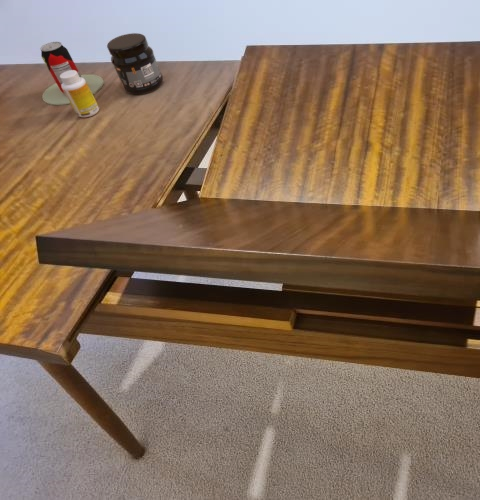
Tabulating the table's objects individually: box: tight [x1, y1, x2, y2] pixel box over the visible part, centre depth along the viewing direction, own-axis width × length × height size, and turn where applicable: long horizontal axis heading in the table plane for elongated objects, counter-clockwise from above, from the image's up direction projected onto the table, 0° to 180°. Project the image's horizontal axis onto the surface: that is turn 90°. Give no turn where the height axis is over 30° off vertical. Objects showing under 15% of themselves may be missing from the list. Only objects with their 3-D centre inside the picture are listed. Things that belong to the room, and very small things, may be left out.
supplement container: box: [106, 32, 164, 95], centre depth 118 cm, size 10×10×12 cm
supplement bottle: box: [60, 70, 100, 119], centre depth 111 cm, size 6×6×10 cm
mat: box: [41, 73, 105, 106], centre depth 124 cm, size 16×16×1 cm
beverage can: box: [39, 41, 82, 93], centre depth 119 cm, size 6×6×12 cm
